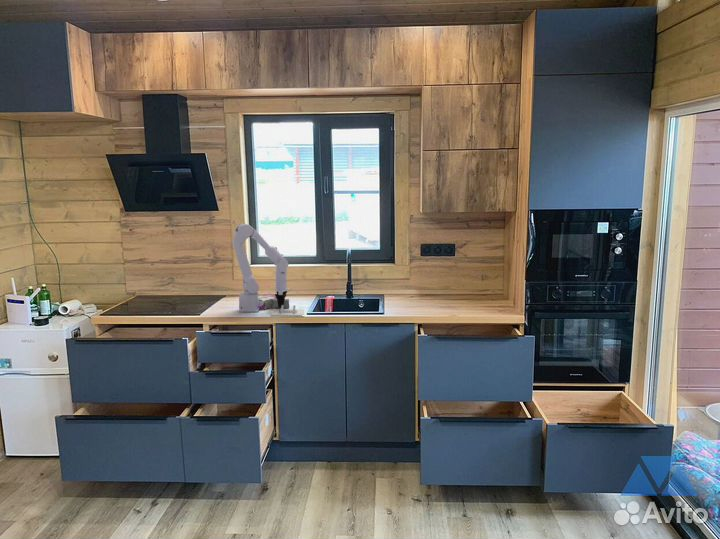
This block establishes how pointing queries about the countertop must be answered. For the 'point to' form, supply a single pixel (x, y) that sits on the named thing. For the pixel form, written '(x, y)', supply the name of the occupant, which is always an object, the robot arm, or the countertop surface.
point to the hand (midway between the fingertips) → (281, 306)
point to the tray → (287, 312)
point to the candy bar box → (266, 301)
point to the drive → (285, 306)
